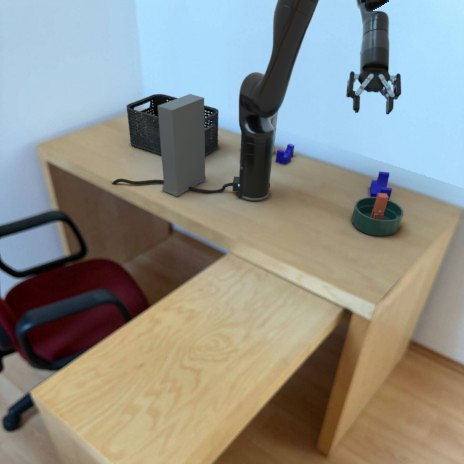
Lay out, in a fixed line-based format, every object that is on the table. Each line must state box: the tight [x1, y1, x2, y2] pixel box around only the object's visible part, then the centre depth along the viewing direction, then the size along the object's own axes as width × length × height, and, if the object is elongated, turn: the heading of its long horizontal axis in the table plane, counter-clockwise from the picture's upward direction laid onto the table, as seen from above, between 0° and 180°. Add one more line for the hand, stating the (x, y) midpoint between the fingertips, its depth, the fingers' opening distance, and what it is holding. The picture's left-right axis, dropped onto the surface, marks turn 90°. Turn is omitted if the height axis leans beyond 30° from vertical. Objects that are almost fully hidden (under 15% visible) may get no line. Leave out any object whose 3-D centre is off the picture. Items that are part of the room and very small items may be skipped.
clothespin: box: [370, 193, 389, 220], centre depth 121 cm, size 2×3×8 cm
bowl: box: [351, 196, 404, 237], centre depth 122 cm, size 13×13×5 cm
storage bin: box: [126, 93, 220, 157], centre depth 155 cm, size 29×19×13 cm
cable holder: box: [275, 143, 295, 165], centre depth 152 cm, size 8×4×4 cm, turn 142°
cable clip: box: [369, 170, 393, 200], centre depth 133 cm, size 12×4×6 cm, turn 169°
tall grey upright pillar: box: [158, 93, 207, 197], centre depth 129 cm, size 14×6×25 cm, turn 144°
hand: (372, 112), depth 119 cm, fingers open, 8 cm apart
